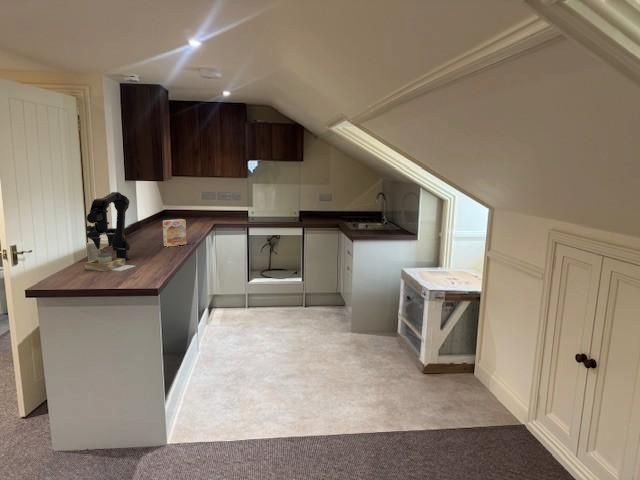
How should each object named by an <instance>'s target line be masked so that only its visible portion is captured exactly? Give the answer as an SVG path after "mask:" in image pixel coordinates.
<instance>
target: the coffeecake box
mask: <svg viewBox="0 0 640 480" xmlns="http://www.w3.org/2000/svg"><path fill="white" fill-rule="evenodd" d="M186 221H187V220H186V219H182V218H177V219H165V220H162V235H163V247H164V246H167V247H168V246H177V245H183V244H187V245H188V243H187V225H186V224H187V223H186ZM167 247H166V248H167Z"/></svg>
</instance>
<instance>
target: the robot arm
mask: <svg viewBox="0 0 640 480" xmlns="http://www.w3.org/2000/svg"><path fill="white" fill-rule="evenodd" d="M111 203H112V204H114V206H113V207H114V208H115V211H116V223H115V224H116V225H115V227H110V228H109V225H110V222H109V221H108V212H109V210H108V208H109V207H110V205H111ZM129 207H130V199H129V198H128V197H127V196H126V195H125V194H121V192H119V191H113V192H110V193H109V194H106V195H105V196H104V197H101V198H94V199H93V200H92V203H91V205H90V210H89V213H88V214H87V215H86V220H87V222H88V223H89V224H93V225H87V226H86V232H87V233H86V238H88V239H89V240H92V242H94V244H95V246H96V248H97V249H99V247H100V248H101V239H102V238H101V236H102V235H105V236H106V237H107V244H108V246H109V247H112V250H113V251H114V252H115V255H116V257H115V258H123V259H125V261H127V260H130V259H131V258H130V257H129V255H128V251H130V250H131V245H130V244H129V242H128V237H126V235H125V232H126V231H125V229H126V228H125V227H126V212H127V210H128V209H129Z"/></svg>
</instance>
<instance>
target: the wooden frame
mask: <svg viewBox="0 0 640 480" xmlns="http://www.w3.org/2000/svg"><path fill="white" fill-rule="evenodd" d="M125 265H127V264H126V260H125V259H123V258H116V257H112V261H111V262H108V263H104V264H100V263H99V262H98V259H96V260H92V261H89V262H88V261H85V262H84V270H87V271H96V272H97V271H98V272H99V271H100V272H108V271H112V269H115V268H119V267H122V266H125Z"/></svg>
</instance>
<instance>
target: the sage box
mask: <svg viewBox="0 0 640 480" xmlns="http://www.w3.org/2000/svg"><path fill="white" fill-rule="evenodd" d="M112 255H113V254H112V253H109V252H108V253H107V252H103V253H101V254H98V262H99V263H100V264H104V263H108V262H111V261H112V258H113V257H112Z"/></svg>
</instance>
